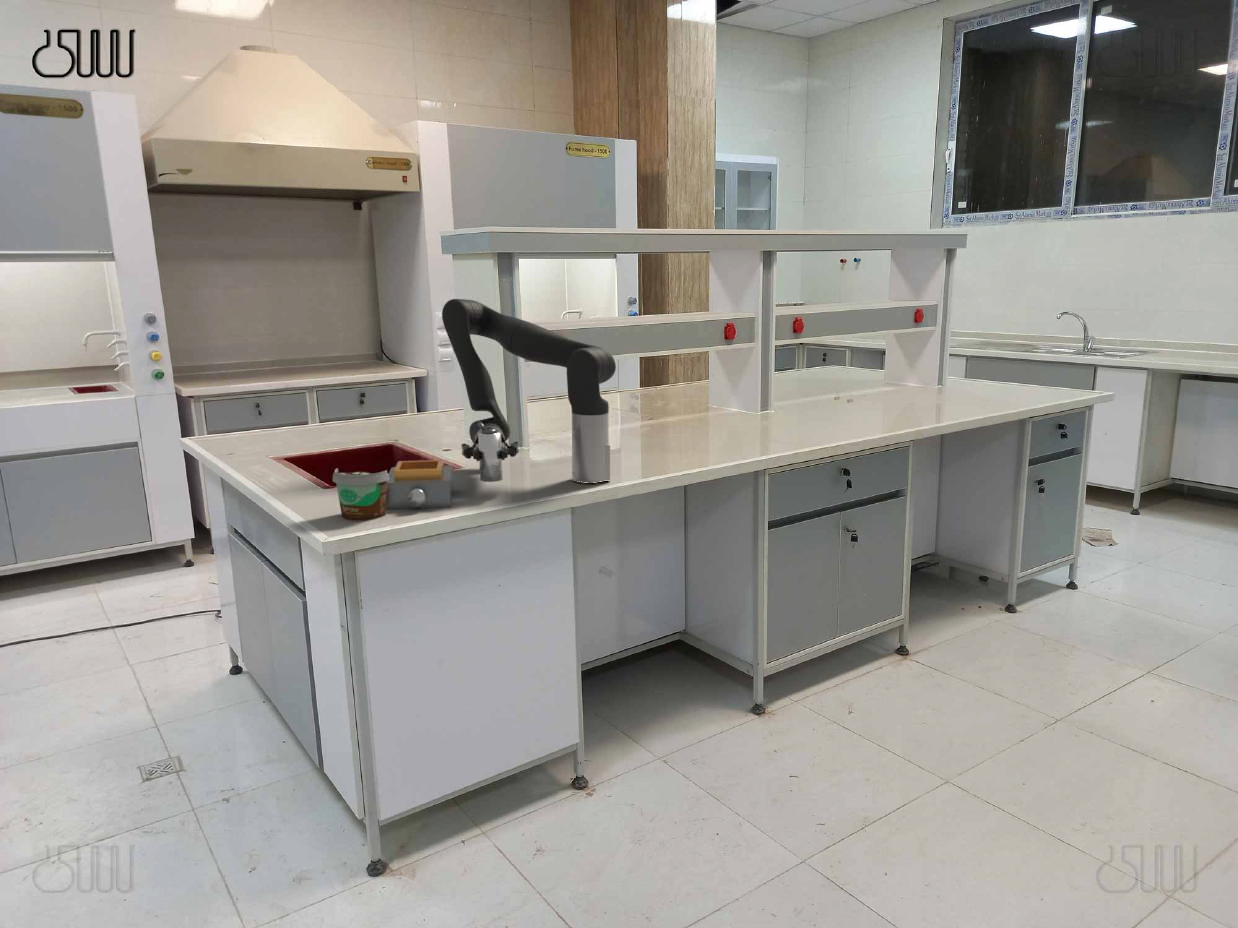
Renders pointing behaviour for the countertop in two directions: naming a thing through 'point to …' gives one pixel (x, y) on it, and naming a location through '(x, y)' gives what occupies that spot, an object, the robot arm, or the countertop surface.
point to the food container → (361, 494)
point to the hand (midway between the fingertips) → (490, 456)
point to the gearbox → (419, 485)
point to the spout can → (490, 454)
